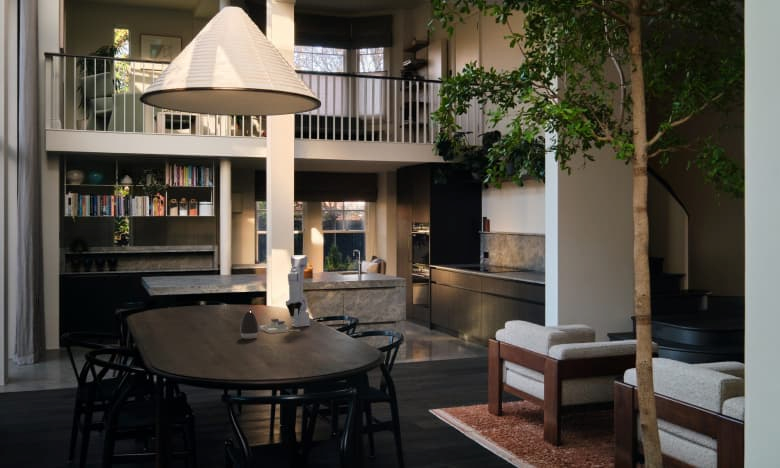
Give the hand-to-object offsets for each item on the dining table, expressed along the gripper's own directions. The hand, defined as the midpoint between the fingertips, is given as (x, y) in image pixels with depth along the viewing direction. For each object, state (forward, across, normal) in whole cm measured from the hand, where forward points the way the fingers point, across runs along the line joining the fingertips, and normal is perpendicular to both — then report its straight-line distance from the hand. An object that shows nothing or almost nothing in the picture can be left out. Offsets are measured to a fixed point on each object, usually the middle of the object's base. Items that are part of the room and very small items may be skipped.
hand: (294, 315), depth 418 cm
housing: (+9, +2, -13) cm, 16 cm away
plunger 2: (+6, +3, -8) cm, 10 cm away
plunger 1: (+6, -3, -17) cm, 18 cm away
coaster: (+9, 0, 0) cm, 9 cm away
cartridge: (+2, 0, 0) cm, 2 cm away
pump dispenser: (+10, +31, -9) cm, 34 cm away
